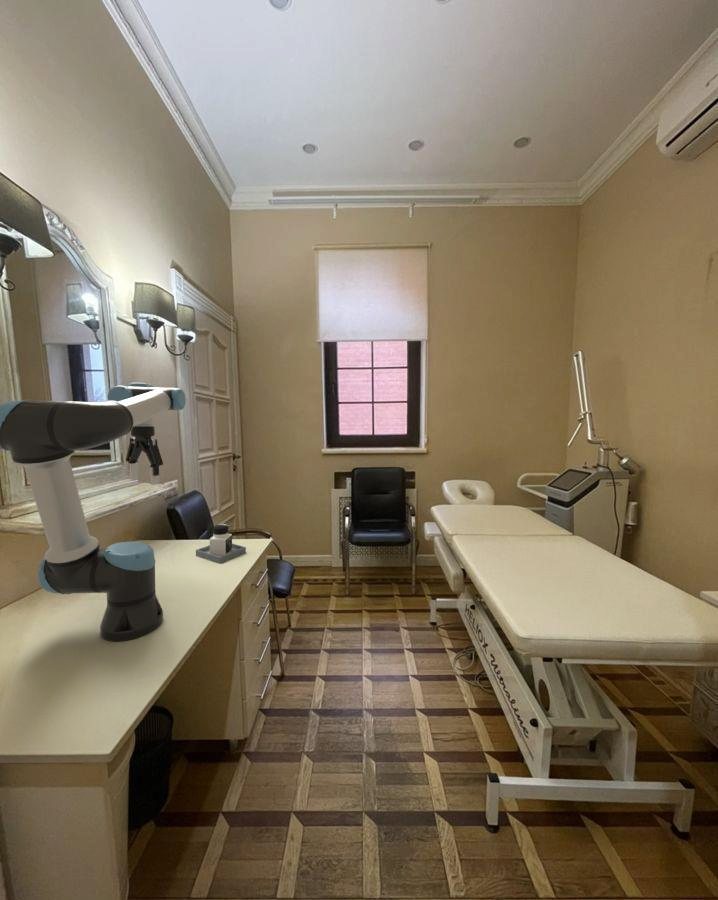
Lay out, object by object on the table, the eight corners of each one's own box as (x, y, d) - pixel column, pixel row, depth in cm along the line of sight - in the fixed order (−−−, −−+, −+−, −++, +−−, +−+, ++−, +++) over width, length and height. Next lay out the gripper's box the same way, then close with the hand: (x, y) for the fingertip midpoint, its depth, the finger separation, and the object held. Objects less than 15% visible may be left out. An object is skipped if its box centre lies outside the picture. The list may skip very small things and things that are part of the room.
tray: (219, 563, 147) (219, 557, 146) (195, 555, 154) (195, 550, 154) (245, 552, 159) (245, 547, 159) (222, 545, 166) (222, 540, 166)
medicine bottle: (226, 555, 153) (225, 528, 152) (209, 555, 153) (209, 527, 152) (232, 549, 160) (232, 523, 159) (216, 548, 160) (216, 522, 159)
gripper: (172, 426, 130) (174, 484, 132) (134, 424, 142) (136, 477, 144) (151, 426, 123) (153, 487, 125) (114, 424, 136) (116, 480, 138)
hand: (144, 482), depth 135 cm, fingers open, 13 cm apart
